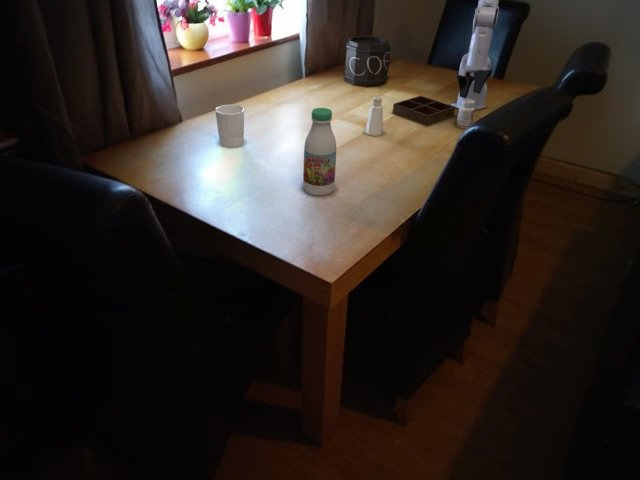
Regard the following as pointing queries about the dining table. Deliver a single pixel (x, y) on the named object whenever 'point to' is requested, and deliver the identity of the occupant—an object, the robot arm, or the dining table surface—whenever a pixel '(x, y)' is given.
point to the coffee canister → (367, 61)
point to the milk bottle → (320, 154)
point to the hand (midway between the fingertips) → (469, 95)
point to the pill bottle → (465, 113)
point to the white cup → (230, 125)
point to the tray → (423, 110)
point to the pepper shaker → (375, 118)
